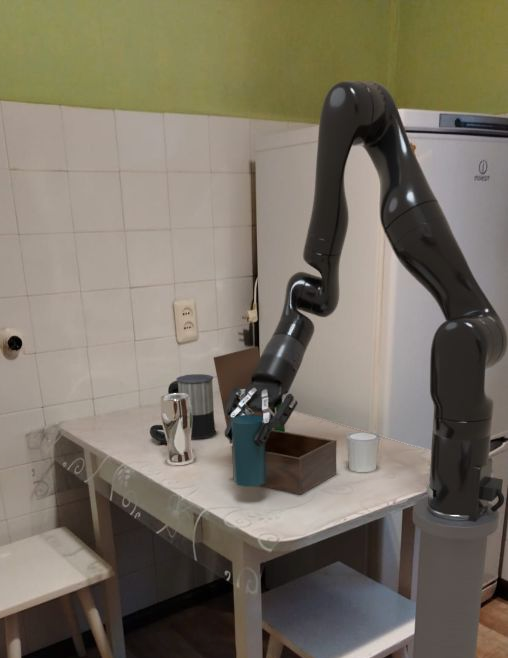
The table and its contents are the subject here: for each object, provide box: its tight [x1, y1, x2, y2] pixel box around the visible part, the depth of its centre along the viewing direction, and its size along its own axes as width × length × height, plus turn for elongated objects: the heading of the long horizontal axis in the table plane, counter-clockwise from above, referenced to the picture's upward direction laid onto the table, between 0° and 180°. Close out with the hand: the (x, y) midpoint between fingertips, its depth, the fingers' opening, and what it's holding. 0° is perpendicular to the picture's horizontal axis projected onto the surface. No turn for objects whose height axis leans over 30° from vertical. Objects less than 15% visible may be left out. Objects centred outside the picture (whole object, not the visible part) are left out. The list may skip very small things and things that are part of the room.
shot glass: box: [346, 431, 381, 473], centre depth 135 cm, size 7×7×7 cm
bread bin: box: [231, 430, 337, 496], centre depth 132 cm, size 17×14×7 cm
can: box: [231, 415, 266, 488], centre depth 118 cm, size 6×6×12 cm
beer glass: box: [159, 393, 195, 466], centre depth 143 cm, size 7×7×15 cm
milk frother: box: [149, 373, 217, 444], centre depth 160 cm, size 14×16×15 cm
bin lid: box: [213, 346, 263, 445], centre depth 133 cm, size 18×14×1 cm
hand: (242, 441), depth 116 cm, fingers closed on can, 6 cm apart
